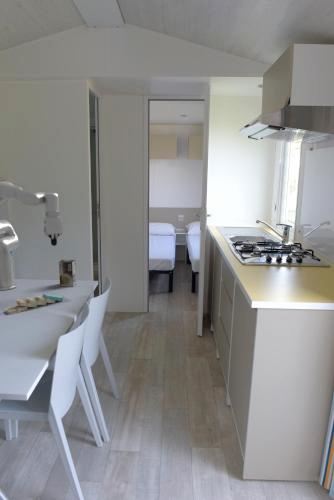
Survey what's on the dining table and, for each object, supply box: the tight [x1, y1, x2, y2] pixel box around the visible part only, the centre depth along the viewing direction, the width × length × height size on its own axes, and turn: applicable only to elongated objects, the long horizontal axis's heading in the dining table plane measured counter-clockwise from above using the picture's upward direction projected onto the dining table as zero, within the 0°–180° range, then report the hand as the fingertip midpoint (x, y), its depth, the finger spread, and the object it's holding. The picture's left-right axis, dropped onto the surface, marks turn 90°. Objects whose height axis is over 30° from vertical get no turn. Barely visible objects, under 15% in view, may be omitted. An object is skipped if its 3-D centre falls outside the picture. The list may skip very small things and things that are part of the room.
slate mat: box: [24, 296, 72, 313], centre depth 209 cm, size 9×26×1 cm, turn 132°
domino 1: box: [4, 305, 28, 315], centre depth 198 cm, size 5×2×10 cm
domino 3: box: [24, 297, 46, 305], centre depth 205 cm, size 5×2×10 cm
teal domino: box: [41, 293, 63, 301], centre depth 211 cm, size 5×2×10 cm
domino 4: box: [33, 295, 55, 303], centre depth 208 cm, size 5×2×10 cm
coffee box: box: [58, 259, 77, 287], centre depth 242 cm, size 9×6×16 cm
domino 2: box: [15, 299, 37, 308], centre depth 201 cm, size 5×2×10 cm
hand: (54, 245), depth 223 cm, fingers closed
